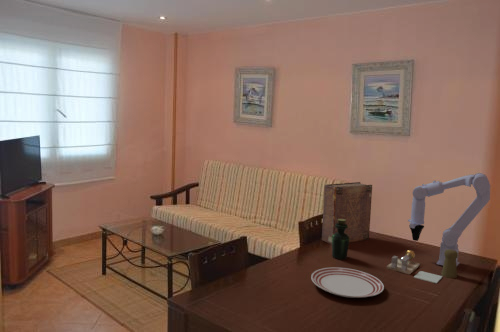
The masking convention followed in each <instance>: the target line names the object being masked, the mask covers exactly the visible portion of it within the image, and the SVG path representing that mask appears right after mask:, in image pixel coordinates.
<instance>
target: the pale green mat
mask: <svg viewBox="0 0 500 332" xmlns="http://www.w3.org/2000/svg"><path fill="white" fill-rule="evenodd" d="M443 277H444V276H443V275H438V274H436V273H435V274H434V273H431V272H426V271H422V270H420V271H418V273H416V274H415V275H414V276H413V278H414V279H418V280H421V281H426V282H430V283H433V284H438V283H439V282H440V281H441V280H442V278H443Z"/></svg>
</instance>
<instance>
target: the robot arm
mask: <svg viewBox="0 0 500 332" xmlns="http://www.w3.org/2000/svg"><path fill="white" fill-rule="evenodd" d="M461 186H465V187H469V188H471V187H472V186H473V188H474V190H475V193H476V196H475V198H474V199H473V200H472V201H471V203H470V204H469V205H468V206H467V208H466V209H465V210H464V211H463V213H462V214H461V215H460V216H459V217H458V218H457V220H456V221H455V222H454V223H453V224H452V225H451V226H450V227H449V228H446V229H445V230H444V231H443V232H442V237H441V242H440V245H439V247H440V248H439V258H438V260H437V262H436V265H438V266H439V265H440V266H442V267H443V265H444V261H445V255H444V252H445V250H447V249H451V250H455V251H457V253H458V254H459V251H460V250H459V245H458V241H459V238H460V237H461V235H462V234H463V232H464V231H465V230H466V228H468V226H469V225H470V224H471V222H472V221H474V219H475V218H476V217H477V216H478V214H479V213H480V212H481V211H482V210H483V209H484V208H485V206H486V205H487V204H488V203H489V202H490V200H491V184H490V180H489V178H488V176H487V175H486V174H484V173H482V172H477V173H475V174H466V175H463V176H460V177H457V178H453V179H451V180H448V181H444V182H441V181H440V180H433V181H432V182H431V183H426V184H424V183H423V184H421V185H418V186H415V187H414V188H413V190H412V202H411V211H410V212H411V213H410V218H409V219H407V222H409V229H410V232H411V237H412V241H415V242H419V240H420V236H421V233H422V231H423V229H424V228H425V212H426V211H425V210H426V198H427V197H433V196H437V195H441V194H443V193H444V192H445V191H446V190H447V189H448V190H449V189H452V188H457V187H461ZM458 260H459V256H458V257H457V258H456V268H457V267H458V266H459V265H460V263H461V262H460V261H458Z"/></svg>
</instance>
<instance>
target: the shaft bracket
mask: <svg viewBox="0 0 500 332" xmlns="http://www.w3.org/2000/svg"><path fill="white" fill-rule="evenodd" d="M400 259H401V258H399V256H396V255H393V256H392V257H391V263H389V264H387V265H386V270H391V271H394V272H399V273H403V274H405V275H410V274H412V273H413V272H414V271H416V270H417V268H420V266H421V263H419V262H415V261H410V260H409V259H406V258H404V259H403V260H402V263H401V262H400Z"/></svg>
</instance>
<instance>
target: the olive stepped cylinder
mask: <svg viewBox="0 0 500 332" xmlns="http://www.w3.org/2000/svg"><path fill="white" fill-rule="evenodd" d="M444 255H445V261H444V265H443V266H442V270H441V275H440V276H443V277H445V278H449V279H456V278H457V277H458V272H457V271H458V270H457V267H456V258H457V257H458V258H459V252H458V253H457V251H455V250H451V249H447V250H445V252H444Z"/></svg>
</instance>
